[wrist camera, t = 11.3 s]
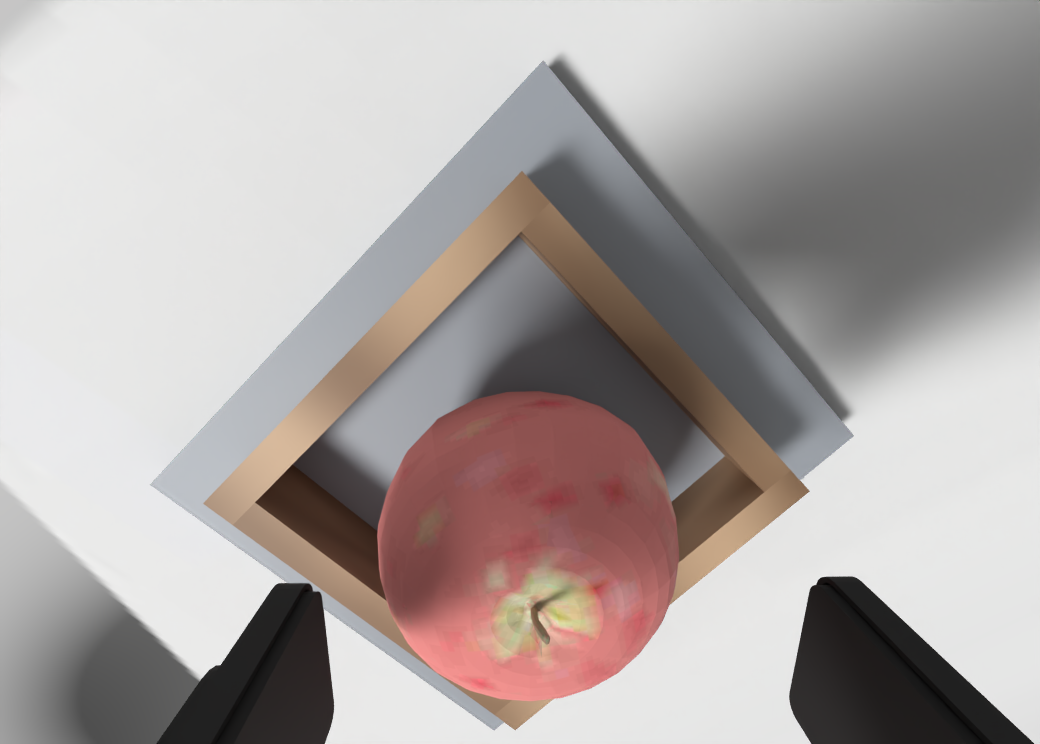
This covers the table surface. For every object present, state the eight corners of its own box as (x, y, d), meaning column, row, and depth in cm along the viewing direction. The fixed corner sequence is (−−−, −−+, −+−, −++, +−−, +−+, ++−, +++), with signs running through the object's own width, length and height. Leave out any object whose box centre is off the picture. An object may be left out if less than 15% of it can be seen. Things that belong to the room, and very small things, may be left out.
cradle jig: (539, 72, 14) (555, 20, 11) (834, 425, 18) (914, 468, 14) (169, 470, 17) (88, 528, 13) (493, 707, 20) (494, 799, 17)
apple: (400, 360, 15) (308, 482, 7) (629, 354, 16) (765, 466, 8) (416, 560, 17) (356, 822, 9) (619, 551, 18) (720, 794, 10)
